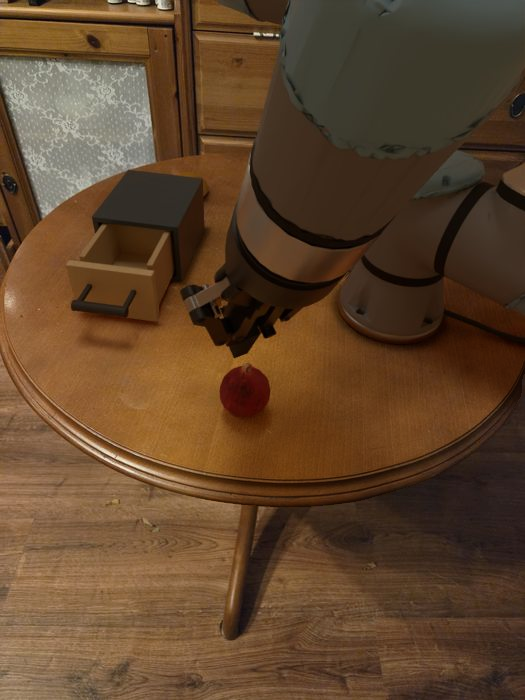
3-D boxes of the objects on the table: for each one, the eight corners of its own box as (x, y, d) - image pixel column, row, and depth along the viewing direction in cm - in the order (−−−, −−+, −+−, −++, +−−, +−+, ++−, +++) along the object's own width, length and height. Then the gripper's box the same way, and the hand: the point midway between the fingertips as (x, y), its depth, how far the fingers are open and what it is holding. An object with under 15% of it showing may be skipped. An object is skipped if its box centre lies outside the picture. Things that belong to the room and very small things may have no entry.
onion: (262, 436, 57) (266, 391, 51) (214, 426, 57) (212, 380, 52) (272, 398, 61) (277, 352, 55) (226, 389, 61) (226, 343, 56)
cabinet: (182, 282, 76) (177, 227, 70) (103, 272, 77) (91, 216, 71) (204, 229, 88) (202, 178, 81) (135, 221, 88) (128, 169, 82)
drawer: (146, 346, 65) (139, 299, 59) (63, 334, 66) (48, 287, 60) (184, 262, 79) (181, 218, 73) (114, 253, 79) (106, 209, 74)
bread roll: (212, 188, 99) (212, 169, 96) (197, 209, 92) (197, 189, 90) (173, 181, 100) (172, 162, 97) (156, 202, 94) (154, 182, 91)
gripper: (368, 142, 30) (277, 291, 52) (164, 196, 26) (160, 331, 48) (424, 249, 29) (307, 355, 51) (218, 322, 25) (188, 402, 47)
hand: (235, 343), depth 50 cm, fingers closed
